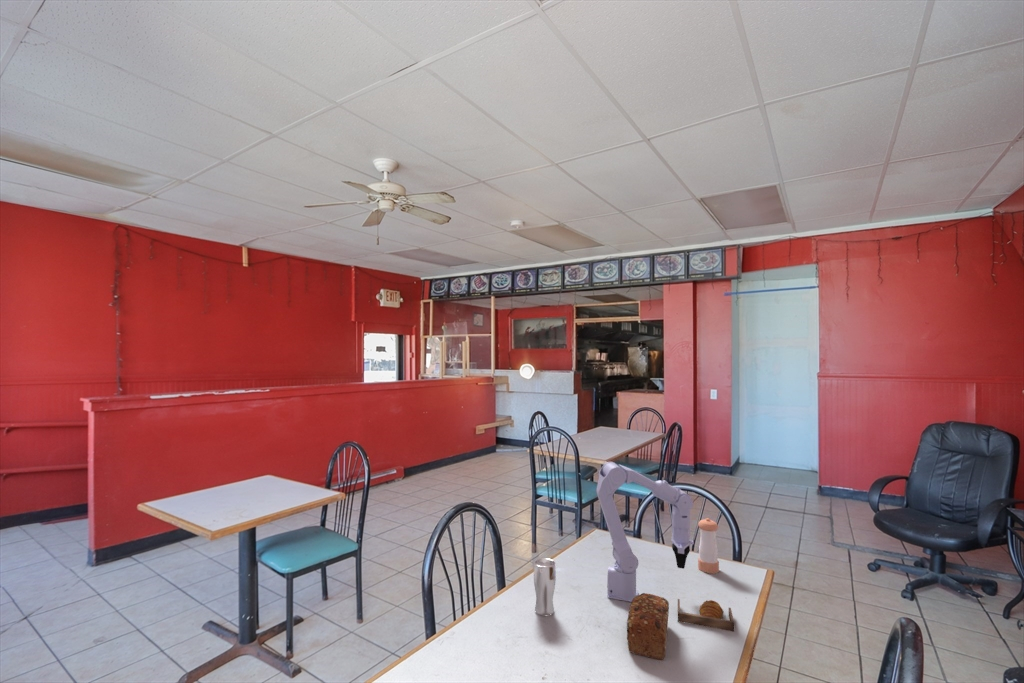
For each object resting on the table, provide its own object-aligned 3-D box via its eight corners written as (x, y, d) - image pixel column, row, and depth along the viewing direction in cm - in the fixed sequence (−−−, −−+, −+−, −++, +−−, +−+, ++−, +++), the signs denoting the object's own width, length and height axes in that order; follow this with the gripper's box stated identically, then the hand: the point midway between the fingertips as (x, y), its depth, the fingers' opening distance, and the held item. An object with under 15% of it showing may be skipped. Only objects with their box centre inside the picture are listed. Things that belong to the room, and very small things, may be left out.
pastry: (720, 629, 138) (720, 615, 138) (696, 622, 141) (696, 609, 141) (724, 614, 146) (723, 602, 146) (701, 608, 149) (700, 596, 149)
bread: (666, 663, 122) (665, 624, 122) (624, 653, 126) (624, 615, 126) (670, 626, 139) (669, 591, 139) (633, 618, 143) (633, 585, 143)
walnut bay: (677, 621, 141) (677, 612, 141) (677, 606, 150) (677, 598, 150) (734, 631, 136) (734, 622, 136) (730, 616, 144) (730, 607, 145)
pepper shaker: (715, 565, 181) (714, 515, 182) (721, 574, 173) (721, 522, 174) (695, 564, 181) (695, 514, 182) (701, 573, 174) (701, 521, 175)
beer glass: (558, 608, 148) (558, 560, 149) (551, 619, 142) (551, 569, 142) (538, 603, 151) (538, 556, 152) (529, 613, 145) (530, 564, 145)
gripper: (694, 535, 151) (694, 578, 150) (692, 521, 164) (692, 560, 164) (671, 532, 153) (671, 574, 152) (671, 519, 167) (671, 557, 166)
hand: (680, 567), depth 158 cm, fingers closed
